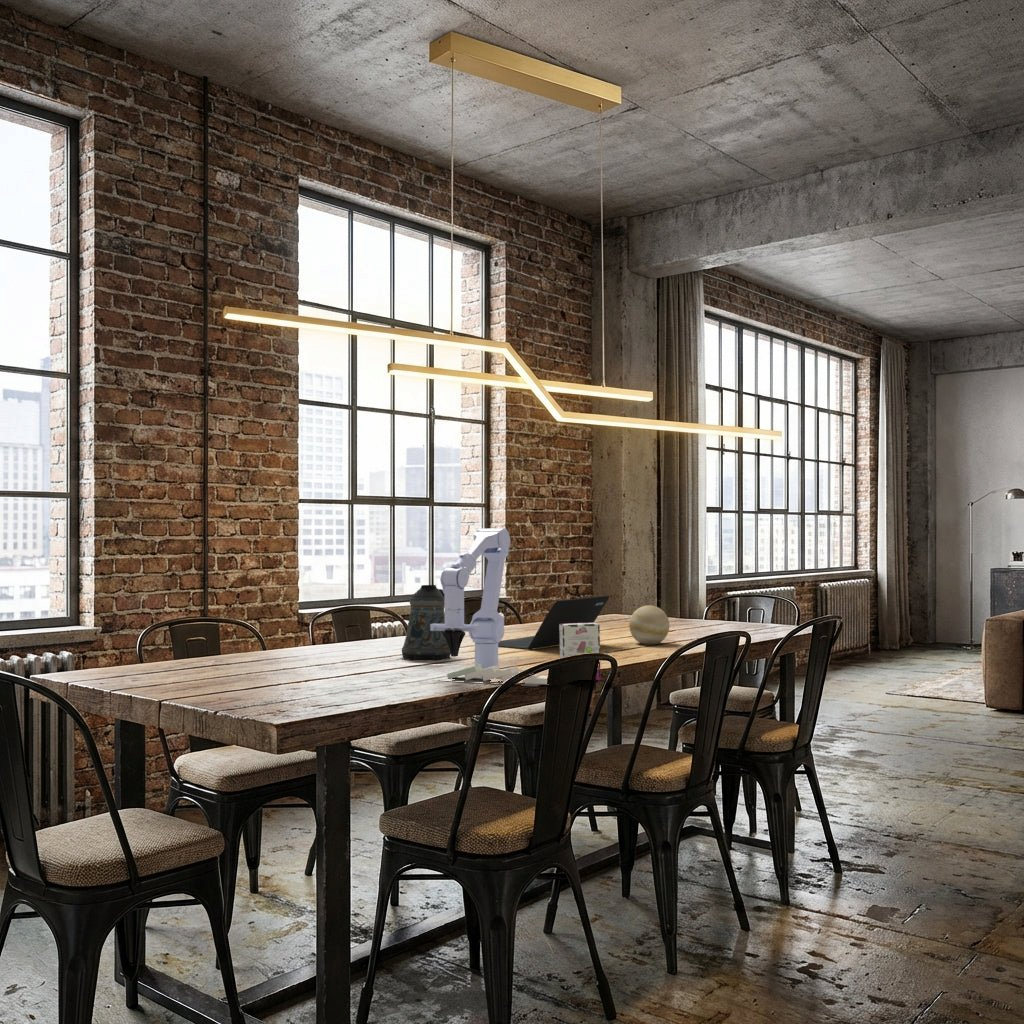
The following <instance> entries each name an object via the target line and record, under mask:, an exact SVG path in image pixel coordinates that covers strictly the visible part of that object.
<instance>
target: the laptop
mask: <svg viewBox="0 0 1024 1024" xmlns="http://www.w3.org/2000/svg"><path fill="white" fill-rule="evenodd" d="M609 599H610V595H608V594H607V595H600V596H590V597H589V596H588V597H581V598H580V597H579V598H569V599H560V600H558V599H557V600H556V601H555V602H554V603H553V604H552V606H551V607H550V609H549V611H548V612H547V614H546V615H545V617H544V619H543V621H542V622H541V624H540V626H539V627H538V629H537V632H535V634H534V635H532V636H524V637H518V638H511V639H505V640H502V639H501V641H500V642H498V648H503V649H513V650H514V649H515V650H523V651H527V650H529V651H530V650H535V649H540V648H541V649H543V648H547V647H556V646H560V630H559V624H571V623H595V621H596V620H597V618H598V617H599V615H600V613H601V612H602V610H603V609H604V607H605V605H606V603H607V602H608V600H609Z"/></svg>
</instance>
